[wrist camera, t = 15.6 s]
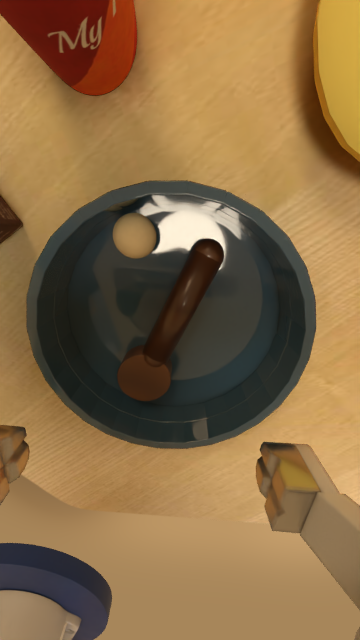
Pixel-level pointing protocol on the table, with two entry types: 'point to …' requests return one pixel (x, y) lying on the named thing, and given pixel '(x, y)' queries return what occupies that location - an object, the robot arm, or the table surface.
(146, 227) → the ball
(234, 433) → the bowl
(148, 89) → the table surface
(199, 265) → the disc-headed brown rod
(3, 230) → the box
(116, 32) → the coffee cup
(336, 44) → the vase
